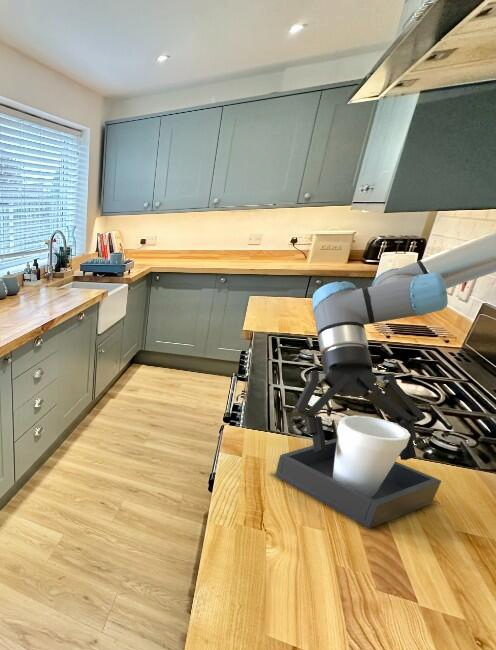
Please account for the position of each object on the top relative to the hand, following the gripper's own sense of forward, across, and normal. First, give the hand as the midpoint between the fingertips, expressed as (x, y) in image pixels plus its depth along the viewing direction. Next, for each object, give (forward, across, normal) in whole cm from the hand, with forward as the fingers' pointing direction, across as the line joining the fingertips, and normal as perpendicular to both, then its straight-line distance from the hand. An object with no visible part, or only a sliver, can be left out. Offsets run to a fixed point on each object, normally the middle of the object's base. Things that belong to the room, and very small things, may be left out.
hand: (363, 454), depth 77 cm
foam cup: (+5, 0, -5) cm, 7 cm away
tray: (+5, 0, -6) cm, 8 cm away
